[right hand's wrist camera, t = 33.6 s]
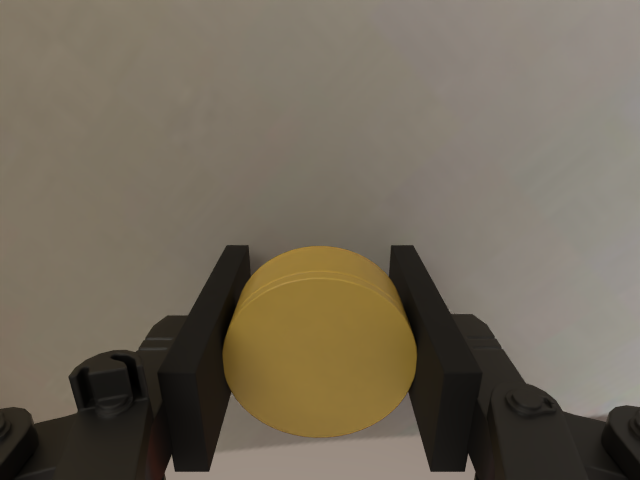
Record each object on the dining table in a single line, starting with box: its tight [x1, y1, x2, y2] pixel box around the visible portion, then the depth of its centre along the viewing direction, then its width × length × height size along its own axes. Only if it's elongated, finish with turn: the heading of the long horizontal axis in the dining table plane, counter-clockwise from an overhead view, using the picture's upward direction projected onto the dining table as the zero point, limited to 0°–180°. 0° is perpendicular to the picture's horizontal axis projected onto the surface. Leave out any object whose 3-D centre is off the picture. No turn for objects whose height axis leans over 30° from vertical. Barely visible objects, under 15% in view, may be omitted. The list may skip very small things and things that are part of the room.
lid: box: [222, 246, 417, 438], centre depth 11 cm, size 5×5×2 cm
